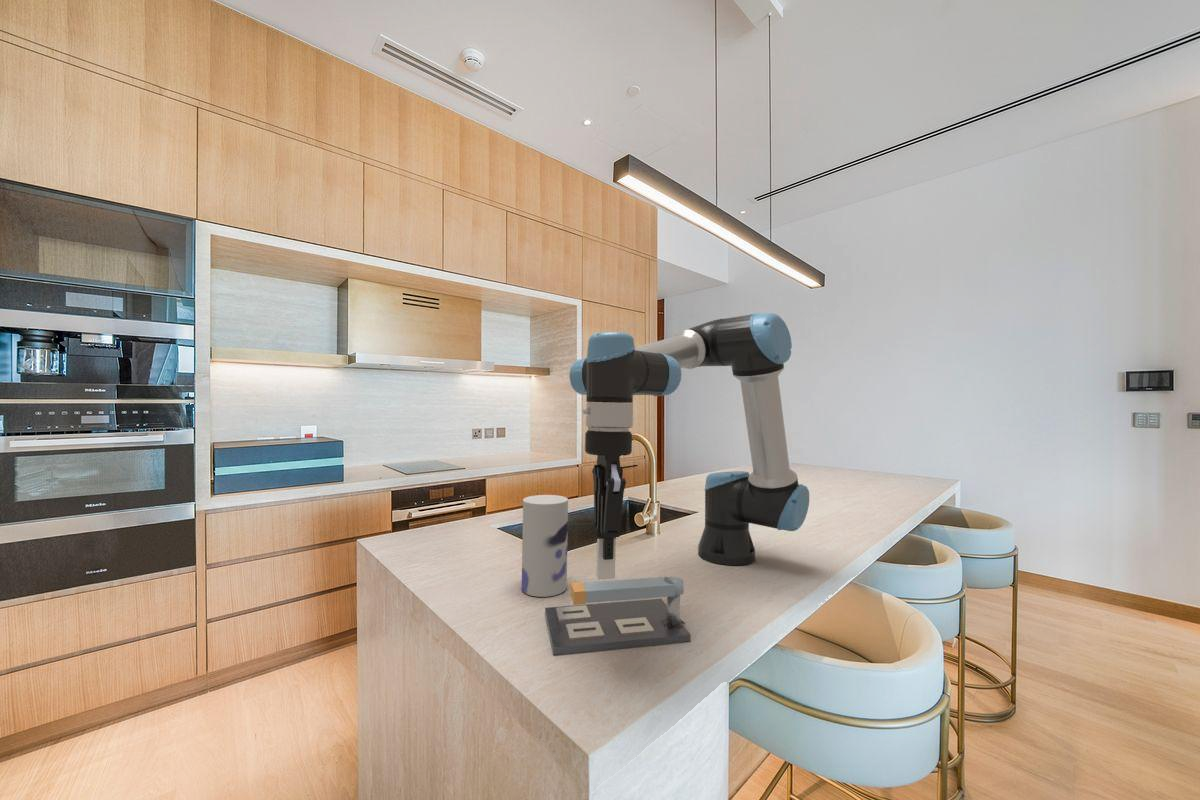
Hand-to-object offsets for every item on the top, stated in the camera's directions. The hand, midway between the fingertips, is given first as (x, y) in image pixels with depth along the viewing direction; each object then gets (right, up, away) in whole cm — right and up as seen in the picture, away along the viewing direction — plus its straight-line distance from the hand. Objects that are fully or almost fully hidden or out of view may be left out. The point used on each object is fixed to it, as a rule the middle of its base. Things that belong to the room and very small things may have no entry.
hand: (605, 577), depth 73 cm
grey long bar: (+4, -7, +9) cm, 12 cm away
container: (-13, -14, +29) cm, 35 cm away
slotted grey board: (+2, -14, +12) cm, 18 cm away
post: (+13, -14, +11) cm, 22 cm away
